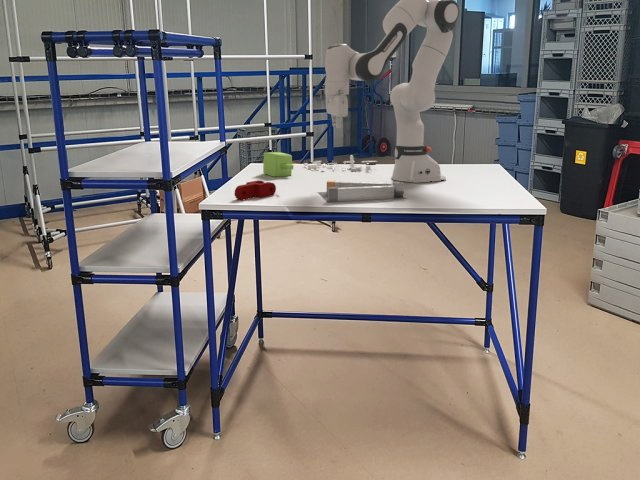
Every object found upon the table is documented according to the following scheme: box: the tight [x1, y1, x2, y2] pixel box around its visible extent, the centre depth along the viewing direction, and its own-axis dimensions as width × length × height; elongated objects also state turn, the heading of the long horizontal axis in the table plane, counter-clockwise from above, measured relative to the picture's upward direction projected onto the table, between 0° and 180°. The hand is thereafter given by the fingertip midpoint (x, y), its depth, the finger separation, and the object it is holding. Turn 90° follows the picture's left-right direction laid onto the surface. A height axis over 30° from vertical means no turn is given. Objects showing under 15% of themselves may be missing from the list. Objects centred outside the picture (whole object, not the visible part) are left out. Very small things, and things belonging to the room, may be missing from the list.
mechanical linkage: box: [234, 179, 277, 201], centre depth 210 cm, size 16×7×5 cm, turn 140°
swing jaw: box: [326, 180, 392, 193], centre depth 208 cm, size 23×3×4 cm, turn 80°
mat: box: [316, 191, 407, 204], centre depth 207 cm, size 28×18×1 cm, turn 102°
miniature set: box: [303, 154, 377, 172], centre depth 269 cm, size 6×35×12 cm
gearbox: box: [262, 151, 294, 178], centre depth 255 cm, size 18×10×10 cm, turn 34°
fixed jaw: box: [327, 181, 405, 203], centre depth 201 cm, size 28×5×5 cm, turn 102°
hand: (336, 127), depth 220 cm, fingers open, 4 cm apart
